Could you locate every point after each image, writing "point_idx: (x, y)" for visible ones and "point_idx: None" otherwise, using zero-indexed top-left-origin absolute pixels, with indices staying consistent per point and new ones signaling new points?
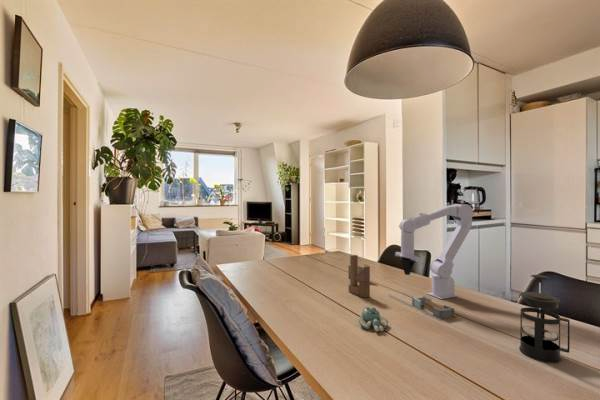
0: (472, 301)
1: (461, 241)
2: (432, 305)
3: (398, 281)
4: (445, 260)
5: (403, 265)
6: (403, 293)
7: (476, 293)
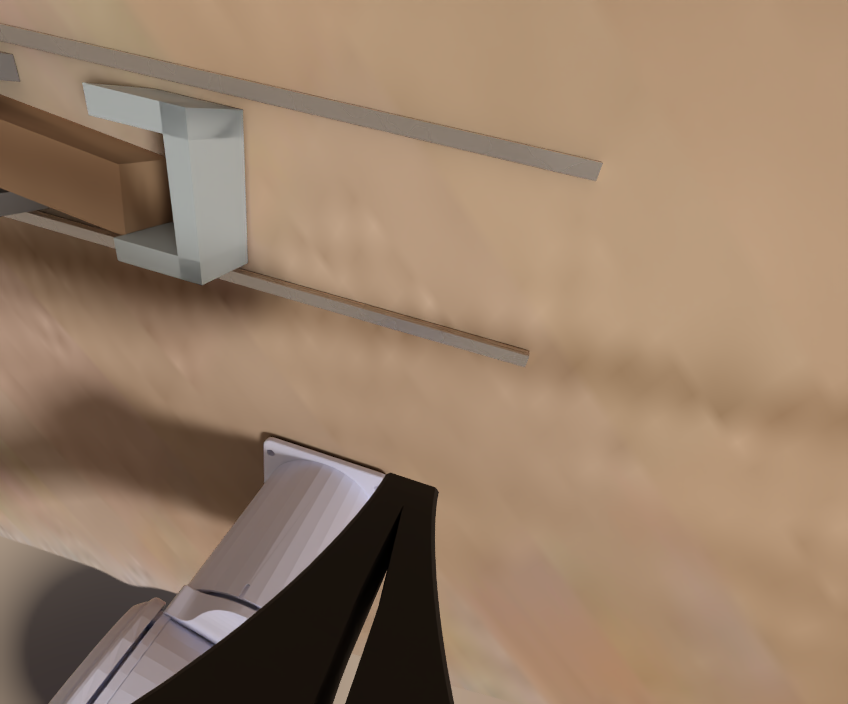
0: (189, 511)
1: None
2: (16, 133)
3: (757, 613)
4: None
5: (391, 656)
6: (513, 349)
7: None
